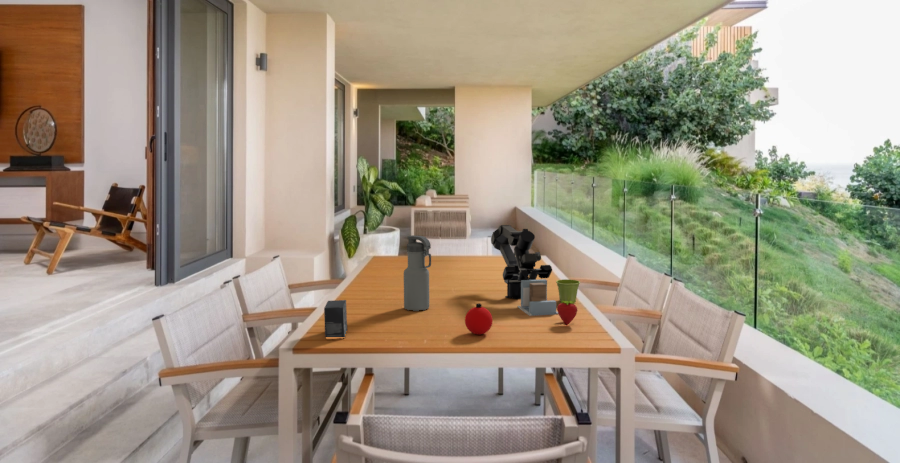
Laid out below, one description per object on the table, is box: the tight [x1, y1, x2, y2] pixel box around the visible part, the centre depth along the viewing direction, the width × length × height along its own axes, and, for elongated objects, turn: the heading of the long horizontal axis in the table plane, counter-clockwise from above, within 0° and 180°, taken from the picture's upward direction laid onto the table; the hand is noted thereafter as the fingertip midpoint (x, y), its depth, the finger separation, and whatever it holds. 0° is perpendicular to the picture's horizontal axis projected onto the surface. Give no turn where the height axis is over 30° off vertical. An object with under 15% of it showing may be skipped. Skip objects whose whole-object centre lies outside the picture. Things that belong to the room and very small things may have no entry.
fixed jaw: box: [529, 299, 557, 316], centre depth 223 cm, size 2×10×4 cm, turn 101°
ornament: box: [464, 303, 494, 336], centre depth 199 cm, size 9×9×10 cm
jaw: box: [520, 278, 548, 307], centre depth 232 cm, size 2×10×10 cm, turn 102°
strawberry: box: [556, 299, 578, 326], centre depth 210 cm, size 6×8×10 cm
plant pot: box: [555, 278, 581, 303], centre depth 244 cm, size 9×9×9 cm
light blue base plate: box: [517, 305, 559, 317], centre depth 228 cm, size 14×11×1 cm
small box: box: [323, 299, 348, 338], centre depth 199 cm, size 11×6×10 cm, turn 5°
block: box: [530, 283, 546, 302], centre depth 228 cm, size 4×5×10 cm
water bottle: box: [403, 235, 432, 312], centre depth 235 cm, size 10×10×28 cm
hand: (532, 290), depth 234 cm, fingers closed
